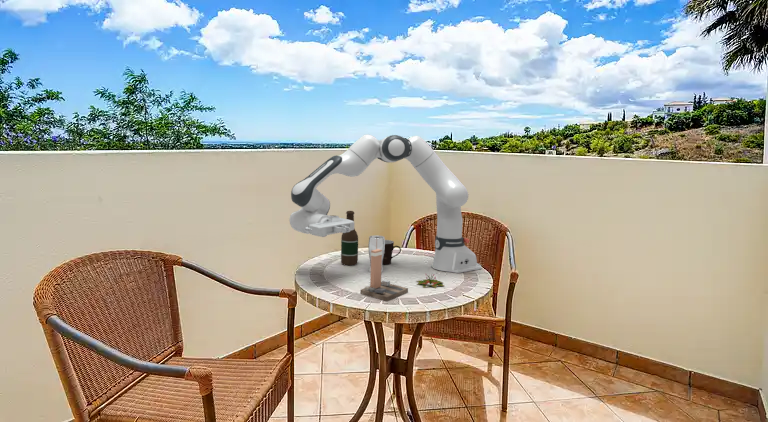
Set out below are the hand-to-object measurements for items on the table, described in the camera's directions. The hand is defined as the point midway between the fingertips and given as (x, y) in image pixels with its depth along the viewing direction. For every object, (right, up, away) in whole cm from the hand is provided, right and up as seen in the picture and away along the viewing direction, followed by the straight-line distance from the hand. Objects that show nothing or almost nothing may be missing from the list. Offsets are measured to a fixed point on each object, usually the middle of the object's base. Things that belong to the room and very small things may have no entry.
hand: (347, 230), depth 172 cm
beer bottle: (-2, -17, +33) cm, 37 cm away
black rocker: (+13, -21, -11) cm, 27 cm away
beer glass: (+10, -19, +22) cm, 31 cm away
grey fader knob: (+15, -20, -2) cm, 25 cm away
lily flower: (+32, -22, +7) cm, 40 cm away
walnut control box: (+14, -23, -6) cm, 27 cm away
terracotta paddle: (+11, -21, -6) cm, 24 cm away
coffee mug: (+15, -17, +35) cm, 41 cm away
